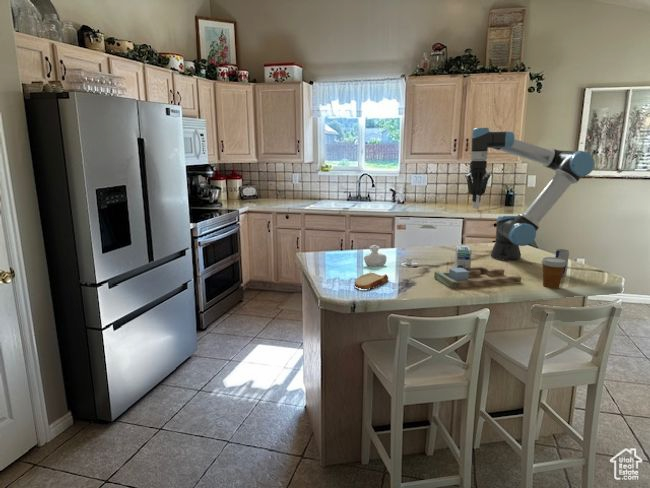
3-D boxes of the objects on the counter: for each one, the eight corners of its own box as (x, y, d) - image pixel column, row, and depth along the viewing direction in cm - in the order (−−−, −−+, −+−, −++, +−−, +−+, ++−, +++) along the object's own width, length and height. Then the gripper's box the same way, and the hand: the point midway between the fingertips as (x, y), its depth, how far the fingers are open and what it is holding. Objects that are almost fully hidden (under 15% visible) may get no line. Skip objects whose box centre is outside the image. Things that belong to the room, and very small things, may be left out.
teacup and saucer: (420, 267, 220) (420, 259, 219) (404, 268, 219) (405, 260, 218) (413, 263, 229) (414, 255, 228) (399, 263, 227) (399, 256, 226)
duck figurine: (385, 268, 226) (382, 248, 230) (389, 262, 219) (385, 242, 223) (363, 269, 224) (360, 249, 228) (366, 264, 217) (363, 243, 221)
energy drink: (550, 274, 206) (553, 249, 204) (558, 273, 209) (561, 248, 206) (560, 277, 202) (563, 252, 199) (568, 276, 204) (572, 251, 201)
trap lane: (494, 270, 213) (495, 264, 212) (520, 282, 195) (521, 276, 194) (431, 275, 205) (431, 269, 204) (452, 288, 187) (452, 281, 186)
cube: (460, 280, 198) (461, 267, 197) (467, 284, 193) (468, 271, 191) (448, 281, 197) (449, 268, 196) (455, 285, 191) (456, 272, 190)
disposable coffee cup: (540, 288, 186) (543, 261, 184) (537, 282, 195) (540, 256, 192) (565, 291, 183) (568, 263, 180) (561, 284, 192) (564, 257, 189)
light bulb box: (470, 271, 211) (472, 250, 209) (456, 271, 213) (457, 249, 210) (468, 265, 222) (469, 245, 219) (454, 265, 223) (455, 244, 221)
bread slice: (358, 292, 184) (358, 283, 183) (347, 279, 201) (347, 271, 200) (398, 288, 188) (398, 280, 187) (383, 276, 205) (384, 269, 204)
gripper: (471, 160, 208) (468, 210, 213) (495, 160, 211) (491, 208, 216) (462, 160, 215) (460, 207, 220) (485, 159, 218) (482, 206, 223)
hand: (475, 208), depth 218 cm, fingers closed
